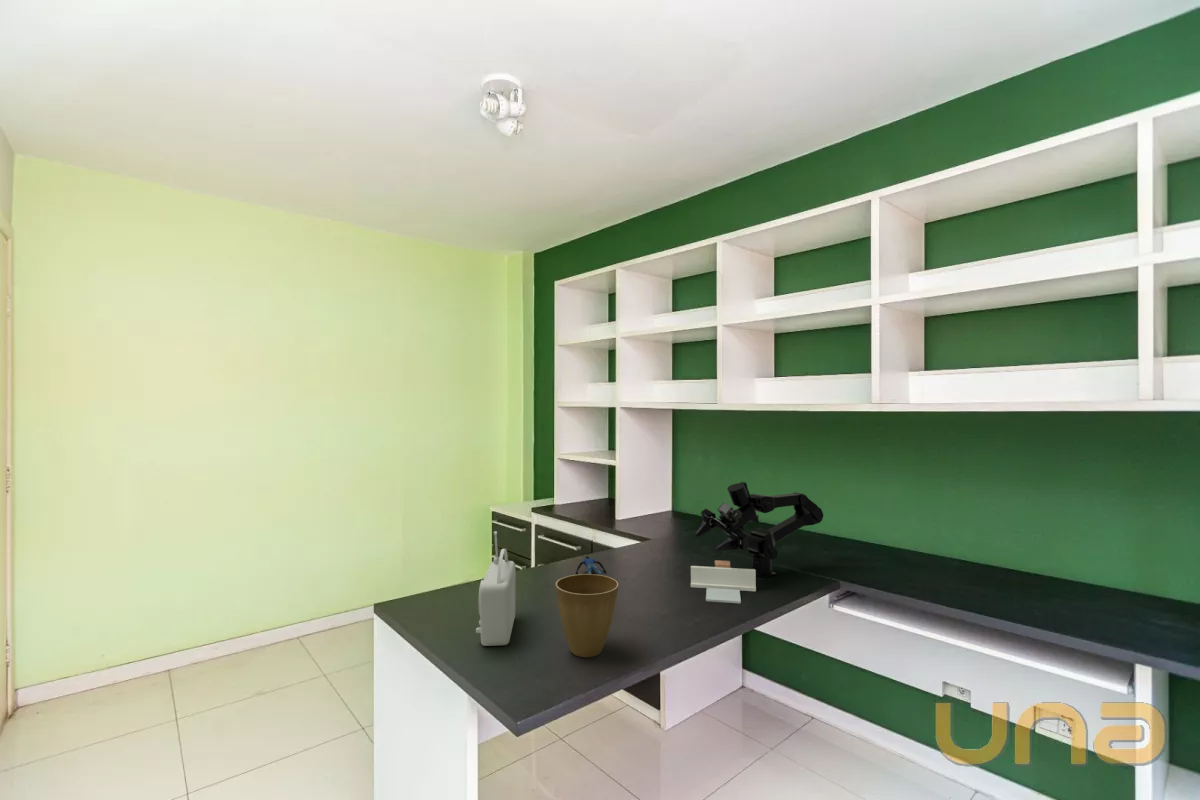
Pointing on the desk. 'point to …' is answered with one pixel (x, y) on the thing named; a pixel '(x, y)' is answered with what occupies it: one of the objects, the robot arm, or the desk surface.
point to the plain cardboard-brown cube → (722, 564)
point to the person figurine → (591, 566)
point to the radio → (497, 601)
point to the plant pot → (586, 611)
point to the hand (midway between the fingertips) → (705, 542)
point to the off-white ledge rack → (723, 578)
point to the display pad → (723, 595)
